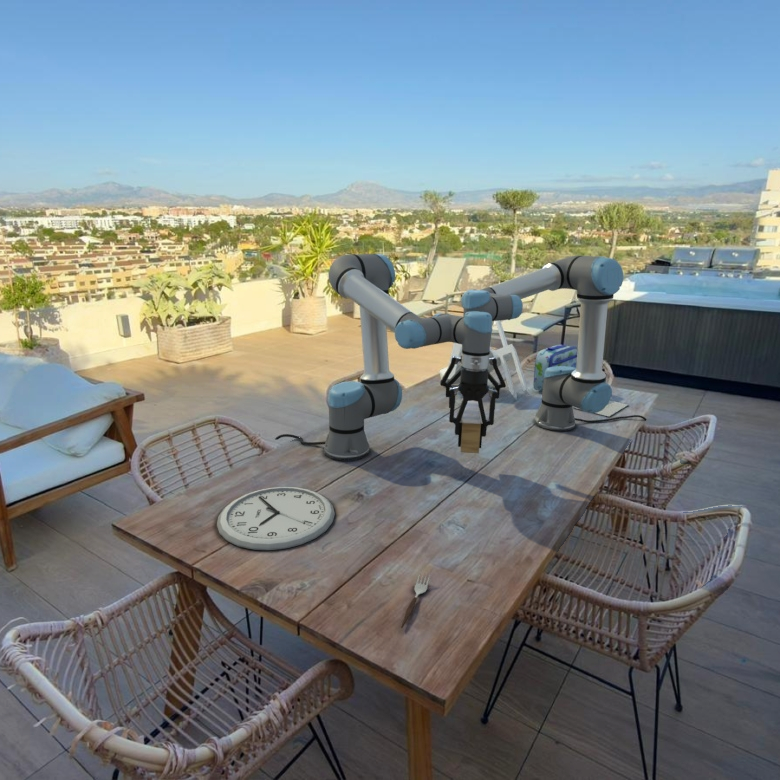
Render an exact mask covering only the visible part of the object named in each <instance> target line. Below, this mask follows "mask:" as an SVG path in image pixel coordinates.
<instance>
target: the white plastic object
mask: <svg viewBox="0 0 780 780" xmlns="http://www.w3.org/2000/svg"><path fill="white" fill-rule="evenodd" d="M495 324H496V325H495V326H496V328H497V332H498V335H499V338H500V342H501V345H502V347H500V348H498V349H496V350H495V349H493V348H492V347H491V346H490V357H489V358H493V357H496V360H497V366H498V368H499V367H500V366H502V370H503V373H504V376H505V380H506V383H507V386H508V390H509V393H510V394H511V395H512V397H513V398H514V399H515V400H517V392H516V391H517V390H516V388H515V385H514V381H513V378H512V375H511V371H510V369H509V365H508V361H510V360H513V363H514V366H515V369H516V372H517V376H518V380H519V382H520V385H521V389H522V391H523V393H524V395H525V396H526V397H528V396H531V395H530V390H529V388H528V387H529V386H528V384H527V381H526V378H525V375H524V371H523V369H522V368H523V367H522V366H521V362H520V359H519V355H518V352H517V349H516V347H515V346H514V345H513V343H511V344H508V341H507V337H506V334H505V331H504V328H503V325H502V320H499V321H495ZM452 356H455V357H458V358H461V356H462V344H458V343H453V344H452V349H451V353H450V357H449V362H448V366H446V367H444V368H442V369H440V370H439V371H438V372H439V376H440V380H441V379H442V378H443V376H444V374H445V372H446V371H447V369H448V367H449V365H450V363H451V359H452ZM460 368H461V362H458V363H457V364H455V366H454V368H453V370H452V371H451V373H450V375H449V377H448V379H447V380H446V382H448V381H449V380H450V379H451V377H452V376H453V375H454V374H455V373H456V372H457V371H458V370H459V369H460ZM487 369H488V372H489V373H490V374H491V373H492V372H494V371H495V370H494V368H493V365H490V363H489V368H487ZM460 380H461V376H460V377H459V378H458V379H457V380H456V381H455V382H454V383H453V384H452V385H459V384H460Z"/></svg>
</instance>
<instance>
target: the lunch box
mask: <svg viewBox="0 0 780 780" xmlns="http://www.w3.org/2000/svg"><path fill="white" fill-rule="evenodd" d="M577 352H578V346H571V345H565V344H556V345H553V346H549V347H546V348H544V349H541V350H539V351H538V353H537V354H536V357H535V361H534V371H533V372H534V373H533V389H534V390H535V391H539V392H542V390H543V378H544V375H545V370H546V369H547V368H549V367H555V366H568V367H575V368H576V365H577Z"/></svg>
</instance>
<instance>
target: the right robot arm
mask: <svg viewBox="0 0 780 780" xmlns="http://www.w3.org/2000/svg"><path fill="white" fill-rule="evenodd" d="M623 282H624V271H623V268H622V265H621V264H620V263H619V262H618V260H616V259H615V258H611V257H606V256H593V255H581V254H580V255H572V256H568V257H564V258H561V259H558V260H555V261H552V262H548V263H546V264H544V266H542V268H540V269H538V270H535V271H532V272H528V273H525V274H522V275H520V276H516V277H514V278H511V279H508V280H505V281H503V282H500V283H495V284H493V285H491V286H488V287H484V288H481V289H467V290H466V291H465V292H463V294H462V296H461V298H460V299H461V300H460V304H461V307H462V309H463V314H462V317H464V316H465V313H467V312H470V311H479V312H487V313H489V314H491V316H492V322H496V321H499V320H500V321H510V320H516V319H518V318H519V317H521V315H522V313H523V308H524V307H523V305H524V304H523V300H524V299H526V298H529V297H532V296H535V295H537V294H540V293H543V292H547V291H550V292H551V291H552V292H554V291H557V290H563V289H564V290H565V289H566V290H575V291H576V299H577V300H578V302H580V313H579V326H578V339H577V341H578V342H577V350H578V352H577V365H576V368H575V367H568V366H555V367H549V368H547V369H546V370H545V375H544V378H543V390H542V391H541V402H540V405H539V407H538V410H537V411H536V413H535V416H534V424H535V425H536V426H537V427H539V428H542V429H544V430H549V431H556V432H567V431H572V430H574V429H575V428H576V421H577V422H583V423H602V422H610V421H615V420H620V419H631V418H640V419H643V420H644V421H648V419H647V418H646V417H645V416H643V415H639V414H632V415H625V416H624V415H623V416H615V417H611V418H605V419H594V420H593V419H590V420H589V419H581V418H577V417H576V416H575V413H574V407H576V408H579V409H578V410H580V409H581V411H583V412H587V413H590V414H596V413H597V412H599V411H601V410H603V409H604V408H605V407H606V405H607V404H608V403H609V401H611V399H612V396H613V388H612V387H611V385H610V384H609V383H607V374H606V373H605V372H604V371H603V362H604V353H605V352H604V351H605V341H606V329H607V318H608V317H607V316H608V307H609V302H611V301H612V300H614V297H615V296H614V294H617V293H618V292H619V291H620V289H621V287H622V286H623ZM462 346H463V344H462ZM458 362H461V364H462V356H461V358H458V357H455V356H452V359H451V363H450V365H449V364H448V366H449V367H448V366H447V367H448V369H447V371H446V372H445V374H444V376H443V378H442V379H441V378H440V382H439V385H440V386H441V387H444V388H445V397H446V398H448V408H449V409H450V404H451V396H450V392H449V389H450V388H451V387H453V386H452V385H454V384H453V383H454V382H455V381H456V380H457V379H458V378H459V377H460V376H461V369H462V368H463V367H462V366H461V368H460V369H459V370H458V371H457V372H456V373H455V374H454V375H453V376H452V377H451V379H450V380H449V381H448V382H446V380H447V379H448V377H449V375H450V373H451V371H452V370H453V368H454V366H455V364H457V363H458ZM489 363H490V365H493V368H494V370H493V371H494V372H495V374H496V376H497V379H498V381H499V383H498V381H497V380H496V378H494V376H493V375H492V373H491V372H490V373H489V372H488V381H489V382H490V383H491V384H492V385H493V386H492V390H497V393H498V395H497V397H496V399H497V400H499V399H500V390H501V389H502V388H504V389H505V388H506V387H507V385H506V382H505V380H504V377H503V375H502V373H501V370H500V369H499V367H498V366H497V360H496V357H493V358H489ZM496 399H495V400H496ZM576 408H575V409H576ZM495 410H496V408H495V409H494V411H495Z"/></svg>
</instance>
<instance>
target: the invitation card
mask: <svg viewBox="0 0 780 780" xmlns="http://www.w3.org/2000/svg"><path fill="white" fill-rule="evenodd" d="M628 406H629V404H627V403H623V402H618V401H614V400H610V401H609V403H608V404H607V405H606V407H605V408H604V409H603V410H601V411H599V412H597V413H595V414H596V415H600V416H604V417H608V418H609V417H611V416H613V415H614V414H616V413H617V412H619V411H621V410H623V409H624V408H626V407H628ZM573 409H575V410H581V409H579V408H576V407H574V406H573ZM581 411H582V410H581Z"/></svg>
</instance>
